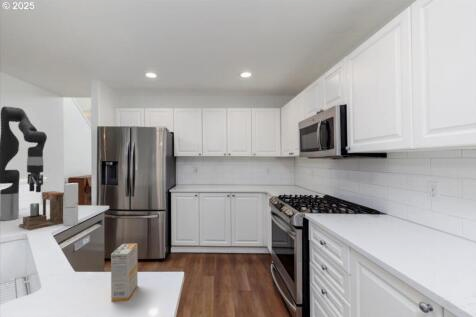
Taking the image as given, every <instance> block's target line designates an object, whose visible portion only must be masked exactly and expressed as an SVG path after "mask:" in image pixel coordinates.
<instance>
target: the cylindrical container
mask: <svg viewBox="0 0 476 317" xmlns="http://www.w3.org/2000/svg"><path fill="white" fill-rule="evenodd" d="M63 192H64V214H63V226H64V227H73V226H77V225H79V182H71V183H70V182H69V183H63Z"/></svg>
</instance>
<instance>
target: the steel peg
mask: <svg viewBox="0 0 476 317" xmlns="http://www.w3.org/2000/svg"><path fill="white" fill-rule="evenodd" d="M29 207H30V208H29V209H30V210H29V211H30V212H29V216H30V218H34V217H39V214H40V203H39V202H36V203H34V202H33V203H30V206H29Z"/></svg>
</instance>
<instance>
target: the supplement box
mask: <svg viewBox="0 0 476 317" xmlns="http://www.w3.org/2000/svg"><path fill="white" fill-rule="evenodd" d="M138 280H139V279H138V243H122V244H121V245H120V246H118V247H117V248H116V249H115V250H114V251H113V252H112V253H111V254H110V295H111V296H110V298H111V302H121V301H124V302H125V301H129V300H130V298H131V296H132V295H133V293H134V292H135V290H136V288H137V287H138V282H139V281H138Z"/></svg>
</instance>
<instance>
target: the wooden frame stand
mask: <svg viewBox="0 0 476 317" xmlns="http://www.w3.org/2000/svg"><path fill="white" fill-rule="evenodd" d="M41 192H42V193H41V194H42V195H41V198H42V214H40V213H39V217H34V218H30V215H28V216H27V215H26V216H22V223H20V224H18V228H21V229H25V230H28V231H33V230H38V229H42V228H47V227H52V226H57V225H64V191H53V190H51V191H41ZM47 200H48V201H49V218H48V219H47Z"/></svg>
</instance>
